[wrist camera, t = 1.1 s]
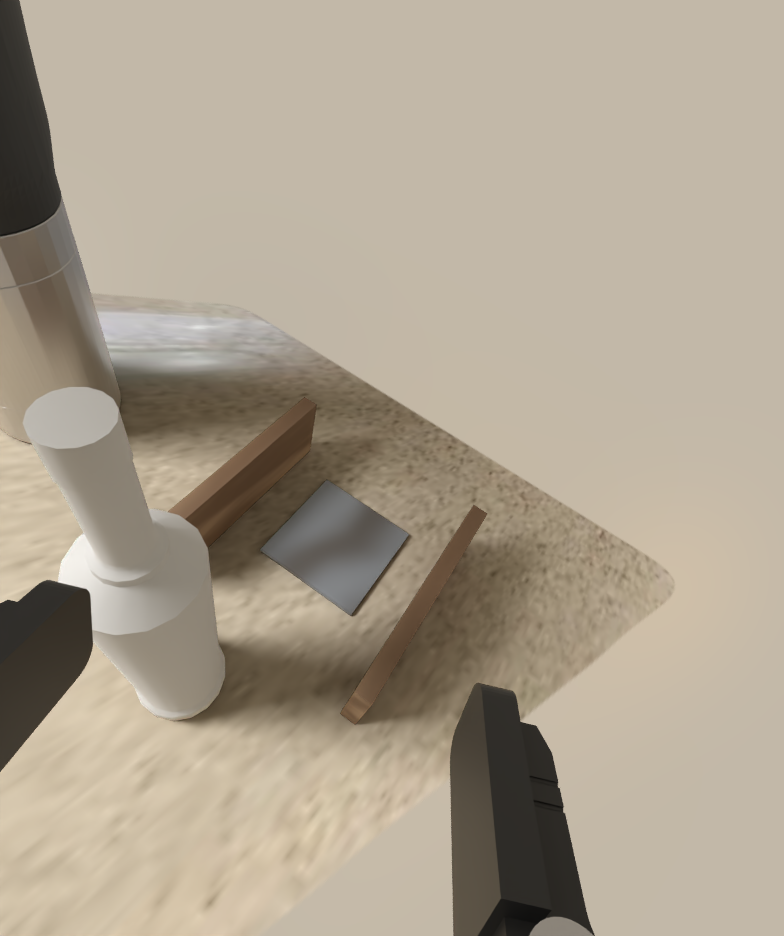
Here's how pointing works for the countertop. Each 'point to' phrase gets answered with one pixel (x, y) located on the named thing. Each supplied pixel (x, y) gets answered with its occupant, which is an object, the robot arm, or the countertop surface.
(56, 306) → the robot arm
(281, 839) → the countertop surface
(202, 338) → the countertop surface
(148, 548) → the bottle
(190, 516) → the arena
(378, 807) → the countertop surface
